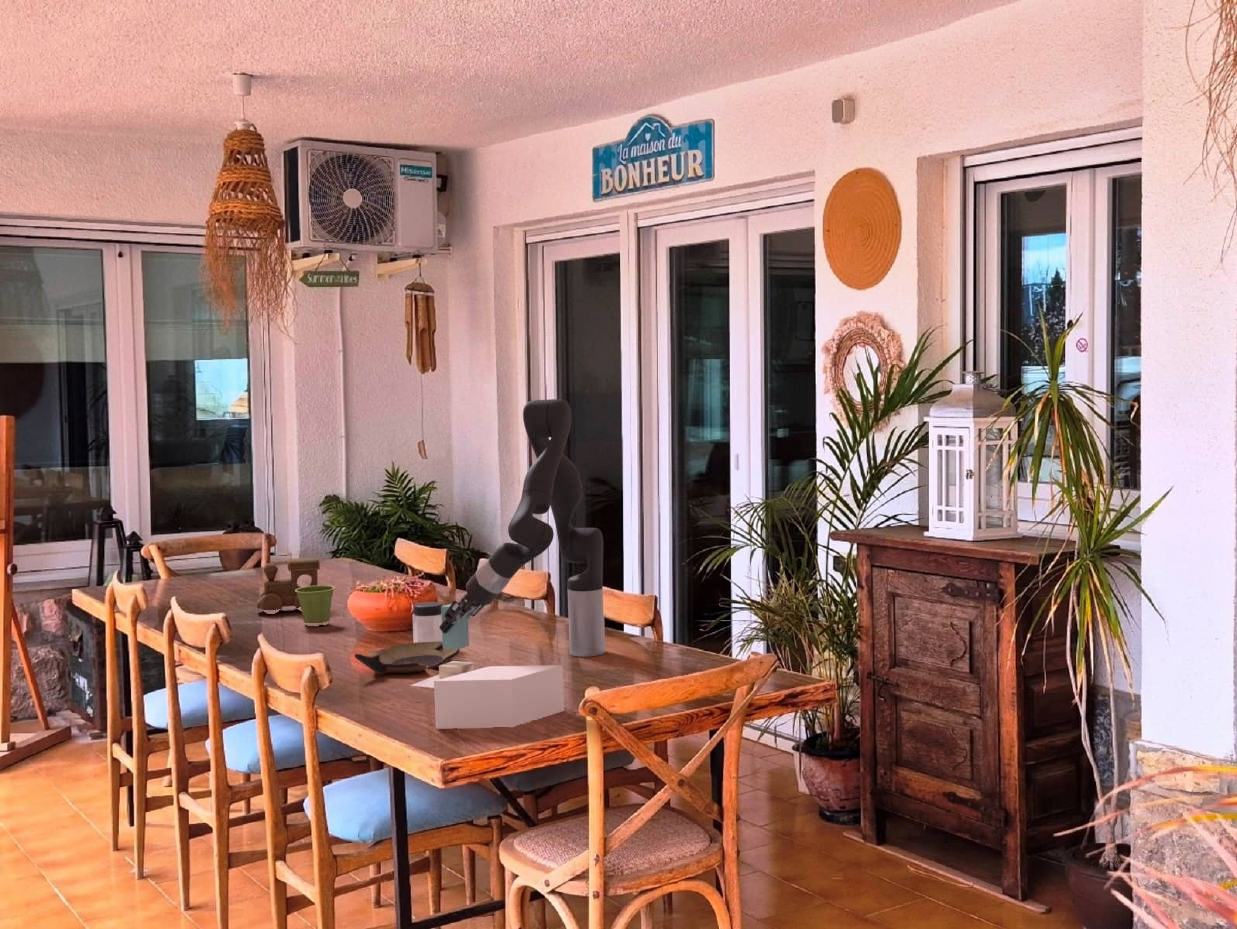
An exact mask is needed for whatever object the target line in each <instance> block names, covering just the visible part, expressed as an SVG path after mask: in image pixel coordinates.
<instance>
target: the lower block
mask: <svg viewBox="0 0 1237 929" xmlns="http://www.w3.org/2000/svg"><path fill="white" fill-rule="evenodd" d="M474 670H475V662H472V661H471V662H470V661H460V660H459V661H458V660H451V661H448V662H446V663H444V664H442V665H440V666H438V672H439V673H438V675H439V680H440V679H444V678H447V677H451V676H455V675H459V674H462V673H466V672H470V671H474Z"/></svg>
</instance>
